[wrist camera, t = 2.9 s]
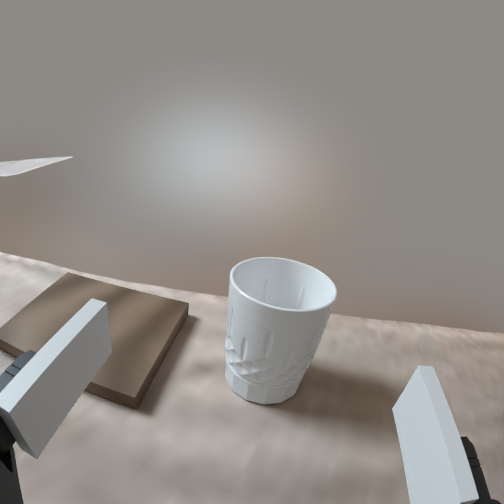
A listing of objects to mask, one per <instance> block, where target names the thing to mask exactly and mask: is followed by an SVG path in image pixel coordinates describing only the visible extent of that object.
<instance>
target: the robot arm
mask: <svg viewBox="0 0 504 504" xmlns="http://www.w3.org/2000/svg"><path fill="white" fill-rule="evenodd" d="M111 353H112V347H111V339H110V330H109V321H108V310H107V303H106V302H103V301H100V300H97V299H93V298H92V299H90V300H89V301H88V302H87V303H86V304H85V305H84V306H83V307H82V308H81V309H80V310H79V311H78V312H77V313H76V314H75V315H74V316H73V317H72V318H71V319H70V320H69V321H68V322H67V323H66V324H65V325H64V326H63V327H62V328H61V329H60V330H59V331H58V332H57V333H56V334H55V335H54V336H53V337H52V338H51V339H50V340H49V341H48V342H47V343H46V344H45V345H44V346H43V347H42V348H41V349H40V350H39V351H38V352H35V351H33V350H29V351H27V352H25V353H23V354H21V355H19V356H18V357H17V358H16V359H15V361H14V362H13V363H12V365H11V366H9V367H8V368H7V369H6V370H5V372H3V373H2V374H1V375H0V504H24V503H23V499H22V494H21V489H20V484H19V479H18V473H17V467H16V460H15V453H14V449H13V446H12V445H13V444H14V443H15V441H16V442H17V443H18V445H19V446H20V448H21V449H22V450H23V451H25V452H26V453H28V454H30V455H31V456H33V457H35V458H36V459H38V457H39V456H40V454H41V453H42V451H43V450H44V448H45V446H46V445H47V443H48V442H49V441H50V439H51V438H52V436H53V435H54V433H55V432H56V430H57V429H58V427H59V426H60V424H61V423H62V421H63V420H64V418H65V417H66V416H67V414H68V413H69V411H70V410H71V408H72V407H73V406H74V404H75V403H76V401H77V400H78V398H79V397H80V396H81V394H82V393H83V391H84V390H85V389H86V387H87V386H88V384H89V383H90V382H91V380H92V379H93V377H94V376H95V375H96V373H97V372H98V371H99V369H100V368H101V366H102V365H103V364H104V362H105V361H106V360H107V358H108V357H109V356H110V354H111ZM392 410H393V414H394V419H395V423H396V428H397V433H398V437H399V442H400V447H401V452H402V458H403V463H404V468H405V474H406V480H407V486H408V492H409V499H410V504H501V503H500V502H499V501H497V500H494V499H491V498H490V495H489V492H488V488H487V485H486V482H485V478H484V475H483V472H482V469H481V467H480V463H479V460H478V459H477V454H476V451H475V448H474V446H473V444H472V443H471V442H470V441H469V439H468V438H467V437H460V435H459V432H458V429H457V427H456V424H455V421H454V418H453V416H452V413H451V410H450V408H449V405H448V403H447V400H446V397H445V395H444V392H443V390H442V388H441V385H440V383H439V380H438V378H437V375H436V373H435V371H434V368H433V367H429V366H419V365H418V367H417V369H416V370H415V372H414V374H413V376H412V377H411V379H410V381H409V382H408V384H407V386H406V387H405V389H404V391H403V392H402V394H401V396H400V397H399V399H398V400H397V402H396V404H395V405H394V407H393V408H392Z"/></svg>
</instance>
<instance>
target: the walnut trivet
mask: <svg viewBox="0 0 504 504" xmlns="http://www.w3.org/2000/svg"><path fill="white" fill-rule="evenodd" d="M92 298H93V299H97V300H100V301H103V302H106V303H107V310H108V321H109V330H110V339H111V347H112V353H111V354H110V356H109V357H108V358H107V360H106V361H105V362H104V364H103V365H102V366H101V368H100V369H99V371H98V372H97V373H96V375H95V376H94V377H93V379H92V380H91V382H90V383H89V384H88V386H87V387H86V389H85V390H86V391H88V392H91V393H93V394H96V395H98V396H101V397H103V398H106V399H109V400H111V401H114V402H117V403H120V404H122V405H125V406H128V407H131V408H134V409H137V408H138V406H139V404H140V402H141V400H142V399H143V397H144V395H145V393H146V391H147V389H148V387H149V385H150V384H151V382H152V380H153V378H154V376H155V374H156V372H157V371H158V369H159V367H160V365H161V363H162V361H163V359H164V358H165V356H166V354H167V352H168V350H169V348H170V347H171V345H172V343H173V341H174V339H175V337H176V336H177V334H178V332H179V330H180V328H181V327H182V325H183V323H184V321H185V319H186V317H187V316H188V306H189V303H186V302H182V301H177V300H173V299H169V298H164V297H160V296H156V295H152V294H148V293H144V292H140V291H136V290H132V289H128V288H124V287H120V286H116V285H112V284H109V283H105V282H101V281H98V280H94V279H90V278H87V277H83V276H79V275H76V274H72V273H69V272H68V273H66V274H65V275H64V276H63V277H61V278H60V279H59V280H57V281H56V282H55V283H54V284H52V285H51V286H50V287H49V288H47V289H46V290H45V291H44V292H42V293H41V294H40V295H39V296H38V297H36V298H35V299H34V300H33V301H31V302H30V303H29V304H28V305H27V306H25V307H24V308H23V309H22V310H21V311H20V312H18V313H17V314H16V315H15V316H14V317H13V318H11V319H10V320H9V321H8V322H7V323H6V324H4V325H3V326H2V327H1V328H0V349H2V350H4V351H5V352H7V353H9V354H11V355H13V356H14V357H16V358H17V357H18V356H19V355H21V354H23V353H25V352H27V351H29V350H33V351H35V352H38V351H39V350H40V349H41V348H42V347H43V346H44V345H45V344H46V343H47V342H48V341H49V340H50V339H51V338H52V337H53V336H54V335H55V334H56V333H57V332H58V331H59V330H60V329H61V328H62V327H63V326H64V325H65V324H66V323H67V322H68V321H69V320H70V319H71V318H72V317H73V316H74V315H75V314H76V313H77V312H78V311H79V310H80V309H81V308H82V307H83V306H84V305H85V304H86V303H87V302H88V301H89V300H90V299H92Z"/></svg>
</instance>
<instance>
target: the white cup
mask: <svg viewBox="0 0 504 504" xmlns="http://www.w3.org/2000/svg"><path fill="white" fill-rule="evenodd" d="M336 297H337V289H336V286H335V285H334V283H333V281H332V280H331V279H330V278H329V277H327V276H326V275H325V274H324V273H322V272H321V271H319V270H317V269H315V268H313V267H311V266H309V265H307V264H304V263H300V262H297V261H294V260H290V259H284V258H276V257H258V258H252V259H248V260H244V261H242V262H240V263H238V264H237V265H235V266H234V267H233V269H232V270H231V273H230V284H229V298H228V311H227V326H226V349H225V350H226V373H225V378H226V380H227V382H228V384H229V386H230V387H231V389H232V391H234V392H235V393H237V394H238V395H239V396H241V397H242V398H244V399H245V400H248V401H251V402H255V403H259V404H264V405H265V404H275V403H282V402H283V401H285V400H287V399H289V398H291V397H292V396H294V395H295V393H296V391H297V389H298V388H299V386H300V384H301V382H302V379H303V377H304V374H305V372H306V371H307V370H308V368H309V366H310V363H311V361H312V359H313V357H314V355H315V352H316V350H317V347H318V345H319V342H320V340H321V337H322V335H323V332H324V329H325V327H326V324H327V321H328V319H329V316H330V313H331V310H332V308H333V305H334V303H335V300H336Z"/></svg>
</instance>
